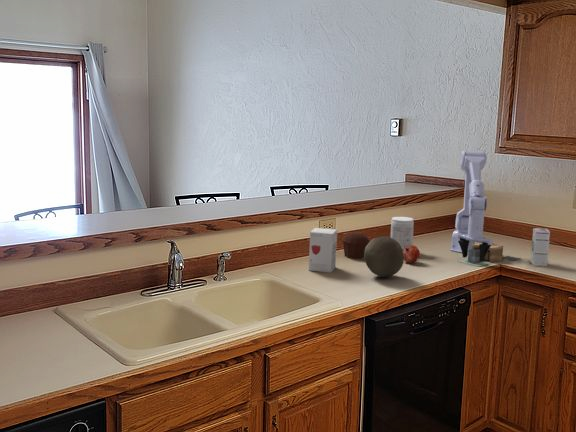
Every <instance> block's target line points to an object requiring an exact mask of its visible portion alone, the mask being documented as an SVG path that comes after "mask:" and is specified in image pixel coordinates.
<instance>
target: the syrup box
mask: <svg viewBox="0 0 576 432" xmlns="http://www.w3.org/2000/svg"><path fill="white" fill-rule="evenodd" d="M550 235H551V231H550V230H549V229H548V228H543V227H542V228H541V227H540V228H539V227H536V228H534V227H533V229H532V239H531V249H530V250H531V251H530V261H529V262H530V264H531V265H532V266H536V267H548V262H549V261H548V260H549V248H550V238H551V237H550Z"/></svg>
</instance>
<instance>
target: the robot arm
mask: <svg viewBox="0 0 576 432" xmlns="http://www.w3.org/2000/svg"><path fill="white" fill-rule="evenodd" d="M486 163H487V152H486V151H484V150H483V151H478V150H477V151H475V150H474V151H473V150H471V151H470V150H462V151H461V154H460V170H461V171H464V175H465V176H464V177H465V178H464V191H463V193H464V195H463V208H462V209H461V210H459V211H457V213H456V215H455V216H456V217H455V225H454V227H455V230H454V231H453V233H452V235H451V244H450V251H453V252H456V253H457V252H458V253H461V254H462V258H464V259H466V258H468V252H469V250H470V249H472V245H473V244H476V243H482V244H479V247H480V261H485V260H484V258H485V255H486V253H487V251H488V249H489V248H490V246H491V245H492V243H493V241H494V239H491V238H487V237H484V236H483V234H484V233H483V232H484V223H485V221H484V220H485V212H486V210H487V207H488V198H487V196H486V194H485V185H484V184H485V183H484V182H482V181H481V179H482V177H481V176H482V170H483V169H484V168H485V165H486Z"/></svg>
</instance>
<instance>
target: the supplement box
mask: <svg viewBox="0 0 576 432" xmlns="http://www.w3.org/2000/svg"><path fill="white" fill-rule="evenodd" d="M309 233H310V234H309V250H308V251H309V252H308V253H309V256H308V271H313V272H322V273H333V271H334V270H335V268H336V265H337V262H336V261H337V246H338V244H337V243H338V229H336V228H335V229H334V228H320V227H314V228H313V229H311V230H310V232H309Z"/></svg>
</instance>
